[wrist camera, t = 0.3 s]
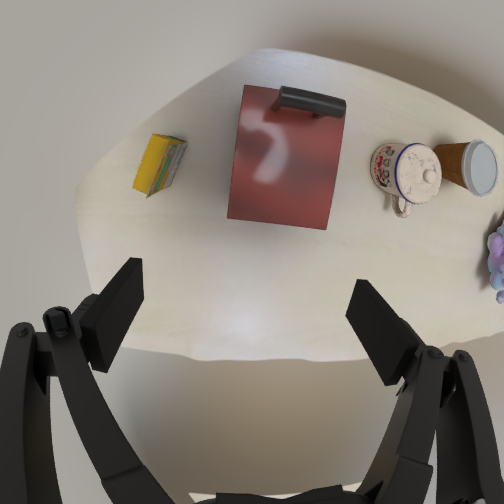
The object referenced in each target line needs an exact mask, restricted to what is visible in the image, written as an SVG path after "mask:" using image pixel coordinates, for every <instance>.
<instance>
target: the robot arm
mask: <svg viewBox="0 0 504 504" xmlns="http://www.w3.org/2000/svg"><path fill="white" fill-rule="evenodd" d="M143 300H144V290H143V268H142V259H141V258H132V257H130V258H129V259H128V261H127V262H126V263H125V264H124V265H123V266H122V268H121V269H120V270H119V271H118V272H117V273H116V275H115V276H114V277H113V278H112V279H111V281H110V282H109V283H108V284H107V286H106V287H105V288H104V289H103V290H102V292H101V293H100V294H99V295H98V294H91V295H89V296H88V297H86V298H85V299H84V300H83V301H82V302H81V304H80V305H79V306H78V307H77V309H76V310H75V311H74V312H73V313H72V314H71V312H70V311H69V309H68V308H66V307H61V306H58V307H53V308H50V309H48V310H47V311H46V312H45V313H44V314H43V321H44V325H45V328H46V331H47V332H35V330H34V327H33V326H32V324H30V323H27V322H22V323H18V324H16V325H15V326H14V327H12V328H11V331H10V333H9V336H8V340H7V343H6V347H5V351H4V356H3V360H2V364H1V368H0V504H62V499H61V495H60V490H59V485H58V480H57V474H56V468H55V462H54V455H53V445H52V434H51V419H50V376H56V377H58V378H59V381H60V385H61V388H62V391H63V394H64V397H65V400H66V403H67V406H68V408H69V411H70V414H71V416H72V419H73V422H74V424H75V426H76V429H77V431H78V434H79V436H80V438H81V440H82V443H83V445H84V447H85V449H86V451H87V453H88V455H89V457H90V459H91V461H92V463H93V465H94V467H95V469H96V471H97V473H98V474H99V477H100V479H101V483H102V486H103V488H104V489H105V491H106V493H107V494H108V496H109V498H110V499H111V501H112V502H113V504H175V503H174V502H173V500H172V499H171V498H170V497H169V496H168V494H167V493H166V492H165V491H164V489H163V488H162V487H161V486H160V484H159V483H158V482H157V480H156V479H155V478H154V477H153V475H152V474H151V473H150V471H149V470H148V469H147V468H146V466H145V465H143V463H142V462H141V461H140V459H139V458H138V456H137V455H136V453H135V452H134V450H133V449H132V447H131V445H130V444H129V442H128V441H127V439H126V437H125V436H124V434H123V432H122V431H121V429H120V427H119V426H118V424H117V422H116V420H115V418H114V417H113V415H112V413H111V411H110V409H109V408H108V405H107V403H106V402H105V399H104V398H103V395H102V393H101V391H100V389H99V387H98V385H97V383H96V381H95V379H94V376H93V374H92V372H91V370H90V367H89V365H88V363H89V361H90V364H91V367H92V370H96V371H100V372H104V373H107V372H108V370H109V368H110V366H111V364H112V361H113V359H114V357H115V355H116V353H117V351H118V349H119V347H120V345H121V343H122V341H123V339H124V337H125V335H126V333H127V331H128V329H129V327H130V325H131V323H132V321H133V319H134V317H135V315H136V313H137V311H138V310H139V308H140V306H141V304H142V302H143ZM345 316H346V318H347V319H348V321H349V323H350V324H351V326H352V328H353V330H354V331H355V333H356V335H357V336H358V338H359V340H360V342H361V343H362V345H363V347H364V349H365V350H366V352H367V354H368V356H369V358H370V359H371V361H372V363H373V365H374V367H375V368H376V370H377V372H378V374H379V376H380V377H381V379H382V381H383V383H384V385H385V386H390V385H396V384H397V383H398V382H399V380H400V378H401V376H403V378H404V380H405V382H404V383H403V385H402V387H401V388H400V390H399V391H398V393H397V394H396V396H398V395H399V397H398V400H397V403H396V406H395V408H394V411H393V414H392V417H391V420H390V422H389V425H388V428H387V430H386V432H385V435H384V437H383V440H382V442H381V444H380V447H379V449H378V451H377V453H376V456H375V458H374V460H373V462H372V464H371V466H370V468H369V470H368V472H367V474H366V477H365V478H364V480H363V482H362V484H361V485H360V487H359V488H358V489H357V490H356V491H355V492H352V491H344V490H343V488H342V485H335V486H331V487H324V488H317V489H312V490H310V491H307V492H304V493H301V494H298V495H295V496H292V497H289V498H286V499H277V498H270V497H264V496H259V495H253V494H233V493H216V498H214V499H207V500H203V501H200V502H197V503H194V504H423V502H424V500H425V497H426V493H427V490H428V487H429V484H430V481H431V477H432V474H433V466H432V465H428V460H429V456H430V452H431V448H432V444H433V440H434V435H435V430H436V437H437V438H436V439H437V491H436V504H504V482H503V479H502V476H501V470H500V462H499V455H498V449H497V444H496V438H495V434H494V429H493V425H492V420H491V417H490V412H489V409H488V405H487V401H486V398H485V394H484V391H483V388H482V384H481V382H480V378H479V375H478V373H477V370H476V367H475V364H474V361H473V359H472V357H471V356H470V355H469V353H468V352H466V351H463V350H456V351H455V353H454V354H453V356H452V357H447V356H444V354H443V353H442V351H441V350H439V349H438V348H436V347H434V346H426V344H425V343H424V342H423V341H422V340H421V338H420V337H419V336H418V335H417V333H415V331H414V330H413V329H412V327H411V326H410V325H409V324H408V323H407V322H406V321H405V320H403V319H402V318H400V317H399V316H398V315H397V314H396V313H395V312H394V310H393V309H392V308H391V307H390V306H389V304H388V303H387V302H386V301H385V300H384V299H383V297H382V296H381V295H380V294H379V293H378V292H377V291H376V289H375V288H374V287H373V286H372V285H371V284H370V283H369V281H368V280H362V279H357V281H356V284H355V287H354V290H353V294H352V297H351V300H350V303H349V306H348V309H347V312H346V315H345ZM455 388H456V389H455ZM454 390H455V391H454Z"/></svg>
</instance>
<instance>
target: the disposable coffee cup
mask: <svg viewBox="0 0 504 504" xmlns="http://www.w3.org/2000/svg"><path fill="white" fill-rule="evenodd" d="M433 152H434V153H435V154H436V156H437V158H438V160H439V162H440V166H441V173H442V176H441V177H443V178H445V179H447V180H449V181H451V182H453V183H456V184H458V185H460V186H462V187H464V188H466V189H468V190H469V191H470V192H471V193H472V194H473V195H475V196H478V197H481V196H484V195H488V194H490V193H491V192H492V191H493V189H494V187H495V185H496V183H497V179H498V161H497V158H496V154H495V152H494V150H493V149H492V148H491V146H489V145H488V144H486V143H485V142H484V141H482V140H474V141H472V142H468V143H457V144H447V145H439V146H437V147H436V148H435V149H434V150H433Z"/></svg>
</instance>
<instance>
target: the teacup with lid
mask: <svg viewBox="0 0 504 504" xmlns="http://www.w3.org/2000/svg"><path fill="white" fill-rule="evenodd" d="M371 174H372V177H373V180H374V182H375V183H376V185H377V186H378V187H379V188H380V189H382V190H383V191H385V192H388V193H391V194H392V208H393V211H394V213H395V214H396V215H397V216H398V217H401V218H406V217H407V216H408V215H409V214H410V212H411V208H412V203H413V204H422V203H426V202H428V201H429V200H431V199H432V198H433V197H434V196H435V194H436V193H437V191H438V189H439V187H440V183H441V176H442V173H441V166H440V162H439V160H438V158H437V156H436V154H435V153H434V152H433V151H432V150H431V149H430V148H429V147H427V146H426V145H423V144H420V143H413V144H392V143H389V144H385V145H382V146H381V147H379V148H378V149H377V150H376V152H375V153H374V155H373V157H372V161H371ZM399 197H402V198H404V199H405V200H406V201H405V207H404V210H403V212H401V211H400V208H399V204H398V200H399Z"/></svg>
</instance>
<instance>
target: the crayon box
mask: <svg viewBox="0 0 504 504" xmlns="http://www.w3.org/2000/svg"><path fill="white" fill-rule="evenodd" d="M187 144H188V143H187V142H185V141H183V140H180V139H178V138H175V137H172V136H166V135H159V134H152V137H151V139H150V141H149V144H148V146H147V148H146V151H145V153H144V156H143V158H142V161H141V164H140V166H139V169H138V172H137V175H136V177H135V180H134V183H133V187H132V188H134V189H136V190H138V191H141V192H143V193H145V194H147V197H146V198H148V197H150V196H151V195H153V194H155V193H157V192H159V191H160V190H162V189H164V188H166V187H168V186H170V184H171V182H172V179H173V177H174V174H175V172H176V169H177V167H178V165H179V163H180V160H181V158H182V156H183V153H184V151H185V149H186V147H187Z"/></svg>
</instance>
